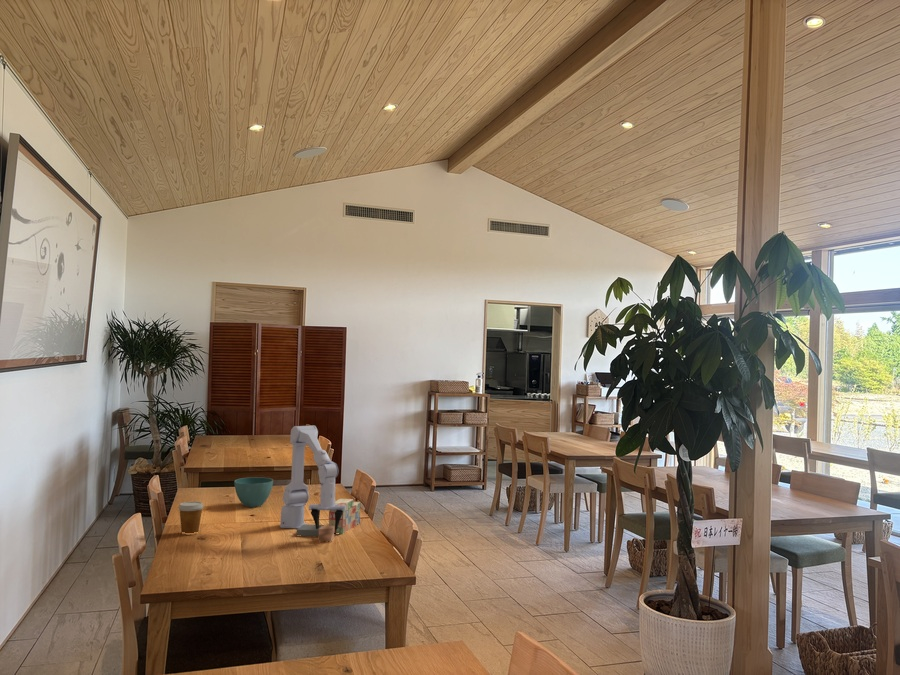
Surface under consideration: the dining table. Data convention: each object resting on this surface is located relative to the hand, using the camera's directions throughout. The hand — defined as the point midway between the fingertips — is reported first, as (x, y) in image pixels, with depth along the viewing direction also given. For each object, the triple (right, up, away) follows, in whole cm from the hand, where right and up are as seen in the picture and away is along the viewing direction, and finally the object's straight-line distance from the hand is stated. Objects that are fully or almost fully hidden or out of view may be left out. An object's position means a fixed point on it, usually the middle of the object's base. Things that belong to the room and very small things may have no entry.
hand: (326, 528), depth 265 cm
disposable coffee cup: (-57, -4, +6) cm, 57 cm away
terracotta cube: (0, -5, 0) cm, 5 cm away
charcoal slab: (-8, -5, +9) cm, 14 cm away
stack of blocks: (+4, -6, +20) cm, 21 cm away
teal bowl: (-47, -7, +62) cm, 78 cm away
